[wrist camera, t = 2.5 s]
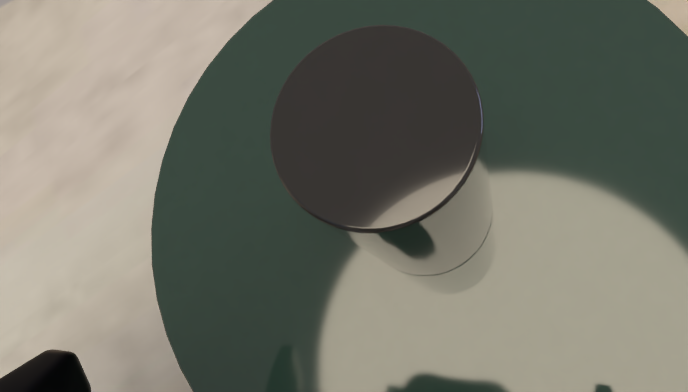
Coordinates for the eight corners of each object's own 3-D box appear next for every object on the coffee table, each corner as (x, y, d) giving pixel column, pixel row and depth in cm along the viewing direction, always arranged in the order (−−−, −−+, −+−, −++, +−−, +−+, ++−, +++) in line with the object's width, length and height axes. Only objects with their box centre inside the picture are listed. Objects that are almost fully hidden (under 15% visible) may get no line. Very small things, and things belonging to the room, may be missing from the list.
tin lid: (798, 536, 13) (1142, 767, 6) (164, 513, 16) (-99, 646, 9) (695, -78, 16) (842, -399, 9) (181, 4, 19) (-5, -190, 12)
